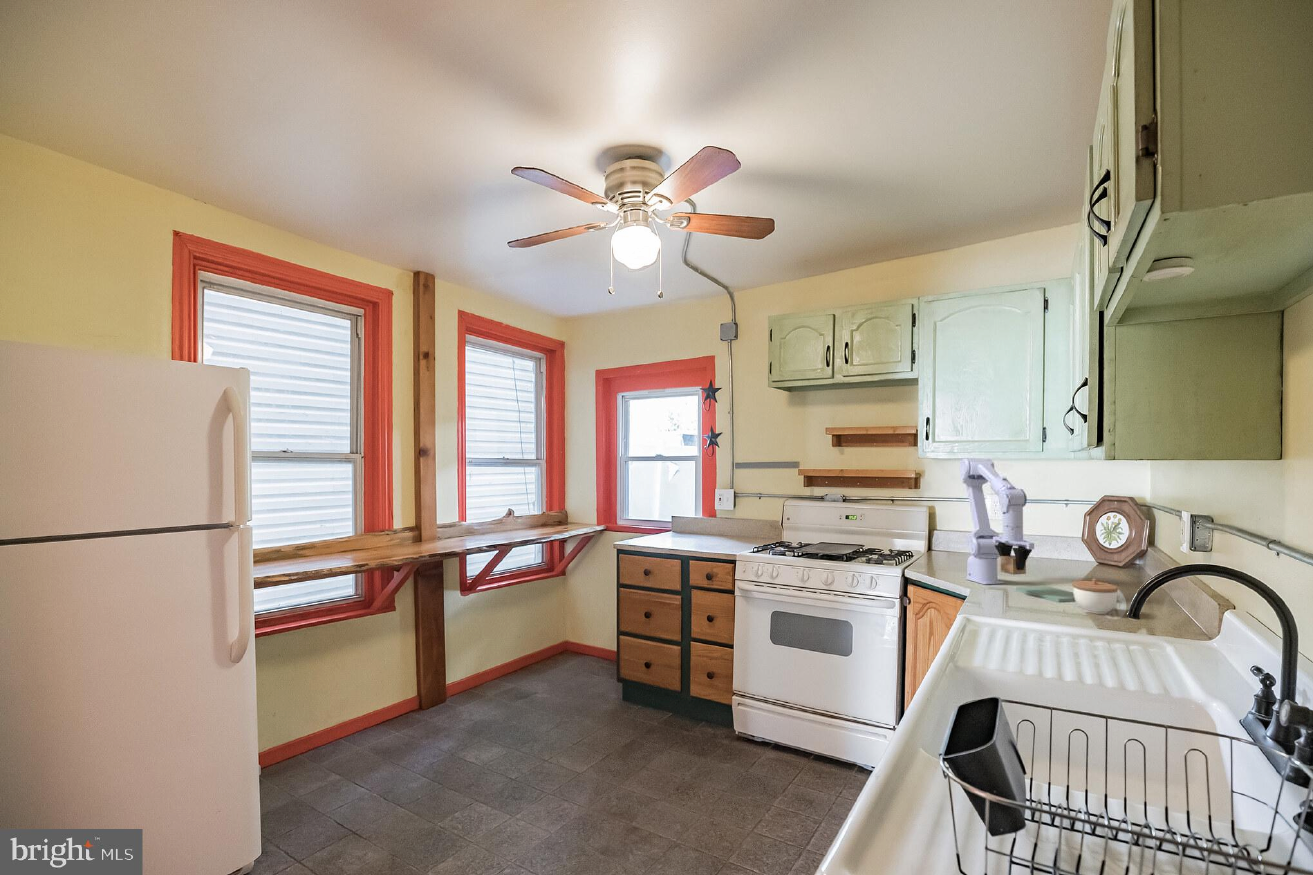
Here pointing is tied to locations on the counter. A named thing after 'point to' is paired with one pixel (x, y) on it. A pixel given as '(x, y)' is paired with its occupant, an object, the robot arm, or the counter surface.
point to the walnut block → (1010, 565)
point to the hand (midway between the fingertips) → (1013, 568)
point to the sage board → (1048, 593)
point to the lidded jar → (1095, 596)
